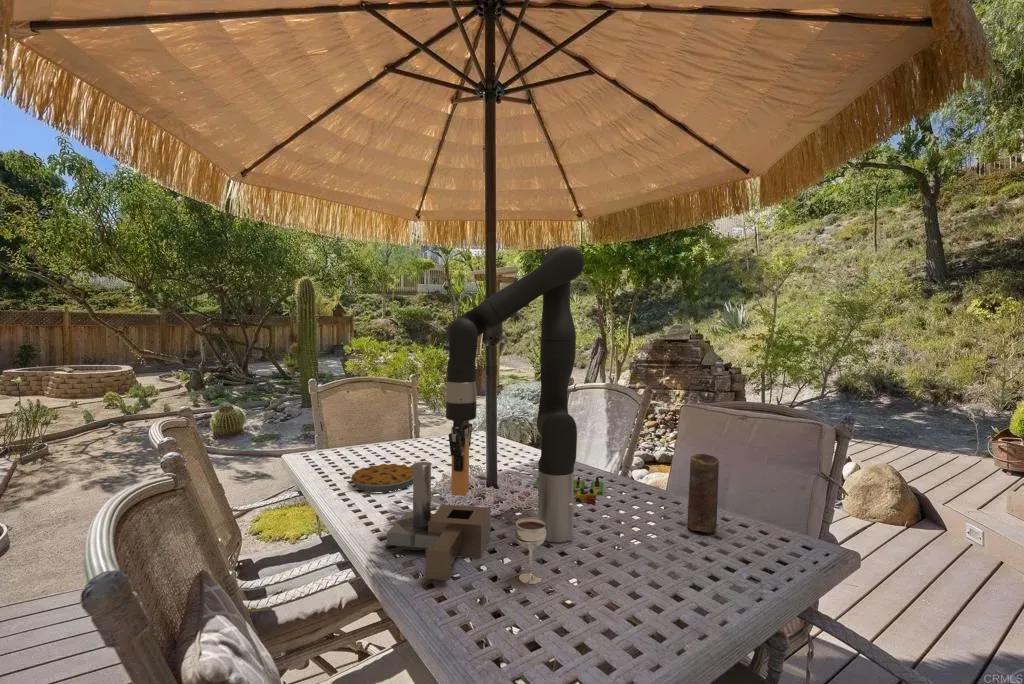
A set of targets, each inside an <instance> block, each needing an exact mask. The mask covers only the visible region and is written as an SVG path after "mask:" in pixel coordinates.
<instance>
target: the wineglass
mask: <svg viewBox="0 0 1024 684" xmlns="http://www.w3.org/2000/svg"><path fill="white" fill-rule="evenodd" d="M515 525H516V528H515V538H516V540H517V542H518V543H519V544H520V545H521V546H522V547H523V548H526V549H527V550H528V560H529V563H528V564H529V571H525V572H523V573H521V574H520V575H519V580H520V582H522V583H524V584H531V585H532V584H538V583H540V582H541V581H542V580H543V577H542V576H541V577H542V578H541V577H540V576H539V575H538V574H539V573H538V574H536V573H537V572H535V573H533V570H532V569H533V568H532V567H533V553H534V550H535V549H536V548H539V547H540V546H541V545H542V544H544V542H546V541H545V539H546V529H545V527H546V522H545V521H544V520H542V519H539V518H538V517H533V516H532V517H531V516H530V517H528V516H527V517H523V518H520V519H517V520H516V522H515Z"/></svg>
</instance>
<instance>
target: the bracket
mask: <svg viewBox="0 0 1024 684" xmlns="http://www.w3.org/2000/svg"><path fill="white" fill-rule="evenodd" d="M491 511H492V510H491V507H487V506H486V507H484V506H471V505H469V506H468V505H459V504H457V505H455V504H454V505H453V504H441V505H440V506H439V508H437V510H436V511H435V512H434V513H433V514H434V515H433V516H432V517H431V519H430V520H429V521H428V534H438V535H440V537H439V538H438V539H437V541H436V542H435V544H434V545H433V547H432V548H427V549H426V551H425V579H430V580H440V581H450V579H451V566H452V564H453V562H454V561H455V559H456V558H457V557H456V556H461V557H460V558H469V559H470V557H471V559H479V558H481V557H482V558H483V556H484V553H485V551H486V549H487V547H488V545H489V542H490V540H491ZM487 544H488V545H487ZM482 555H483V556H482ZM482 558H481V559H482Z"/></svg>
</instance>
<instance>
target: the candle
mask: <svg viewBox="0 0 1024 684" xmlns="http://www.w3.org/2000/svg"><path fill="white" fill-rule="evenodd" d="M719 472H720V461H719V459H718V458H717V457H716V456H714V455H710V454H706V453H695V454H693V455H691V456H690V465H689V483H688V503H687V504H688V505H687V517H686V518H687V521H686V522H687V524H686V526H687V527H688V528H689V530H691V531H696V532H698V533H702V534H710V533H713V532H715V530H716V529H717V522H718V499H719V498H718V495H719V494H718V493H719V492H718V491H719Z"/></svg>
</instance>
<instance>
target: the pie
mask: <svg viewBox="0 0 1024 684" xmlns="http://www.w3.org/2000/svg"><path fill="white" fill-rule="evenodd" d="M350 479H351V482H352V483H354V486H355V488H356V489H357V488H358V490H359V489H360V490H359V491H361V490H363V491H362V492H364V491H369V492H368V493H370V492H389V491H395V490H398V489H401V488H405V487H406V488H408V487H410V486H412V485H413V466H407V465H406V464H398V463H391V464H386V463H382V464H379V465H378V464H377V465H370V466H369V467H362V468H360V469H359V470H355V471H354V473H353V474H351V476H350ZM409 485H410V486H409ZM407 486H408V487H407ZM406 488H405V489H406ZM398 491H399V490H398ZM395 492H396V491H395ZM389 493H390V492H389Z"/></svg>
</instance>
